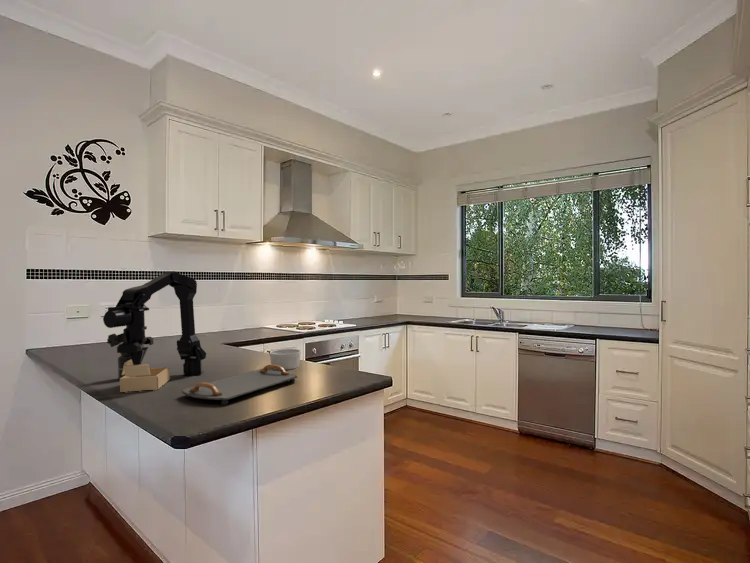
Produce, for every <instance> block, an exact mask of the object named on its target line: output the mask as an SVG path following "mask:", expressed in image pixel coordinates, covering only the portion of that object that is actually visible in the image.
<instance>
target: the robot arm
mask: <svg viewBox="0 0 750 563" xmlns="http://www.w3.org/2000/svg"><path fill="white" fill-rule="evenodd" d="M167 286H169V287H172V288H173V290H174V294H175V296H176V297H177V298H178V300H179V308H180V310H179V312H180V326H181V336H180V338H179V340H178V339H177V340H176V346H177V347H176V351H177V353H178V355H179V357H180V360H182V361H184V363H183V364H182V365H183V369H182V370H183V376H184V377H185V376H186V377H189V376H191V377H192V376H201V375H202V374H203V373H204V370H203V360H205V359H206V358H207V352H206V351H205V350H204V349H203V347H202V345H201V341H200V339H199V337H198V335H197V334H196V327H195V326H196V325H195V313H194V311H195V310H194V309H195V308H194V297H195V295H196V294H197V287H198V283H197V280H196V279H195V278H194V277H189V276H186V275H184V274H181V273H179V272H177V271H175V270H174V271H165V272H163V273H162V274H160V275H159V276H156V277H155V278H153V279H151V280H150V281H149V280H148V282H145V283H144V284H142V285H138V286H134V287H133V286H132V287H130V288H129V287H128V288H126V289H124V290H123V291H122V294H121V296H120V298H119V300H118V302H117V304H116V305H115V306H111V307H110V306H109V307H108V306H107V311H106V312H105V313H104V315H103V318H102V319H103V320H102V321H103V324H104V326H105V327H107V328H108V329H113V328H119V327H121V328H122V327H125V328H124V329H123V332H122V333H120V334H116V333H112V334H109V335H107V339H106V340H107V341H106V343H107V344H108V345H109V346H110V347H111V348H114V347H115V346H116V353H117V354H120V353H127V354H129V355H130V357H131V359H132V362H133V365H141V364H142V362H143V360H144V358H145V356H146V354H147V351H148V350H149V347H148V346H147V347H145V346H144V345H149V346H152V345H154V338H153V337H152V336H146V330H147V327H148V326H145V325H146V324H145V322H146V321H145V320H146V319H145V311H146V312H147V311H150V308H149V307H148V306H146V303H147V302H148V301H149V300H151V297H152V296H153V295H154V294H156V293H157V292H159V291H160V290H161V291H162V289H164V288H166V287H167Z"/></svg>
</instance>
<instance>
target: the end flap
mask: <svg viewBox="0 0 750 563" xmlns="http://www.w3.org/2000/svg"><path fill="white" fill-rule="evenodd" d="M123 368H124V372H125V376H140V375H150V370H149V368H150V365H149V363H145V364H144V363H143V364H142V363H141V365H125V366H123Z"/></svg>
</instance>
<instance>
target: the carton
mask: <svg viewBox="0 0 750 563" xmlns="http://www.w3.org/2000/svg"><path fill="white" fill-rule="evenodd" d="M149 370H150V375H140V376H123V377H122V378H120V380H119V393H120V392H125V391H138V390H153V391H158V390H160V389H161V388H162V385H163V386H164V385H165V384H166V383H168V382H169V381H170V380H171V371H170V370H171V368H170V367H168V366H167V367H166V366H164V367H151V368H150V367H149ZM157 389H158V390H157ZM125 393H126V392H125Z"/></svg>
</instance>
